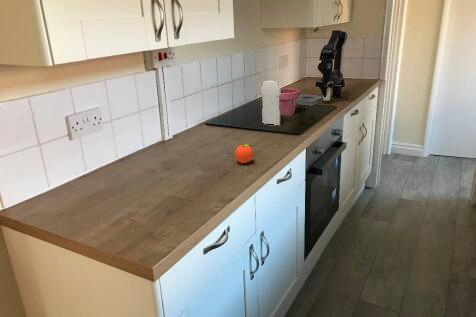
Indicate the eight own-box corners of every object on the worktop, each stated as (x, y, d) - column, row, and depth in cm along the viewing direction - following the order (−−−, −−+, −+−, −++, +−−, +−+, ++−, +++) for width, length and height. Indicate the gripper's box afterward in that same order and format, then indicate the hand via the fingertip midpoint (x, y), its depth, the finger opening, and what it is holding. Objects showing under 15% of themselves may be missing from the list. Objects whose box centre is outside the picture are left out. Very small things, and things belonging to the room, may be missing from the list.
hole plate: (302, 97, 256) (302, 93, 255) (325, 100, 246) (325, 96, 245) (289, 102, 244) (289, 98, 243) (312, 105, 235) (312, 101, 234)
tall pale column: (282, 124, 201) (282, 80, 193) (279, 126, 197) (278, 81, 190) (263, 122, 206) (262, 79, 198) (259, 124, 202) (258, 80, 194)
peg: (325, 98, 239) (325, 87, 237) (331, 99, 237) (331, 87, 234) (321, 100, 236) (322, 88, 234) (328, 100, 234) (328, 88, 231)
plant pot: (286, 109, 230) (286, 86, 225) (304, 113, 219) (304, 90, 214) (267, 113, 222) (267, 90, 217) (284, 118, 211) (284, 94, 207)
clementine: (244, 157, 158) (244, 140, 156) (258, 160, 154) (258, 143, 152) (231, 163, 153) (230, 145, 150) (246, 167, 148) (245, 149, 146)
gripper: (333, 73, 219) (332, 101, 224) (347, 68, 232) (346, 94, 238) (315, 71, 225) (314, 99, 231) (330, 67, 239) (329, 93, 244)
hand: (326, 96), depth 236 cm, fingers closed on peg, 4 cm apart
